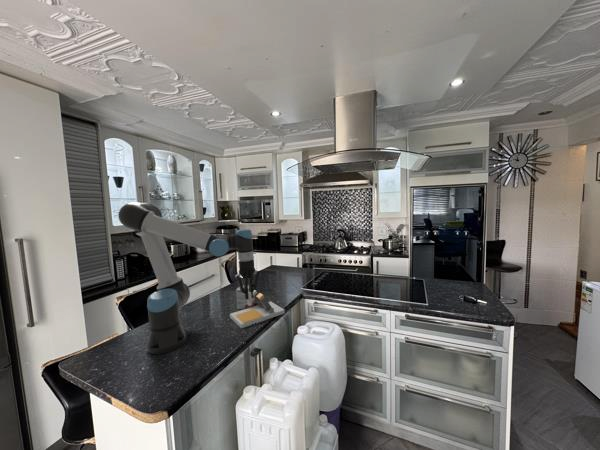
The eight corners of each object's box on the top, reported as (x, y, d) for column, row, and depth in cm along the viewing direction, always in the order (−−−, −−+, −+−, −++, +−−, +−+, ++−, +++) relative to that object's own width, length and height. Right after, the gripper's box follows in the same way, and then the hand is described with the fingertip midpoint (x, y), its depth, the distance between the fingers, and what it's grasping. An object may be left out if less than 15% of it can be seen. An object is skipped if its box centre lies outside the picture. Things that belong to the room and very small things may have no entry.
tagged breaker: (270, 312, 131) (259, 298, 127) (266, 310, 134) (256, 296, 130) (273, 309, 132) (263, 294, 128) (269, 307, 136) (259, 292, 132)
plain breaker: (262, 307, 138) (252, 293, 135) (259, 305, 142) (249, 291, 138) (265, 304, 140) (255, 290, 136) (262, 302, 143) (252, 288, 139)
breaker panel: (241, 328, 119) (240, 320, 119) (230, 317, 132) (229, 309, 132) (284, 313, 134) (284, 305, 133) (270, 304, 147) (270, 297, 146)
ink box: (255, 303, 151) (254, 284, 150) (251, 309, 142) (249, 289, 141) (241, 303, 151) (240, 284, 151) (236, 309, 143) (235, 289, 142)
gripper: (236, 263, 118) (240, 310, 120) (261, 258, 125) (264, 303, 127) (231, 260, 124) (234, 306, 126) (254, 256, 131) (258, 299, 133)
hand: (249, 304), depth 126 cm, fingers closed
